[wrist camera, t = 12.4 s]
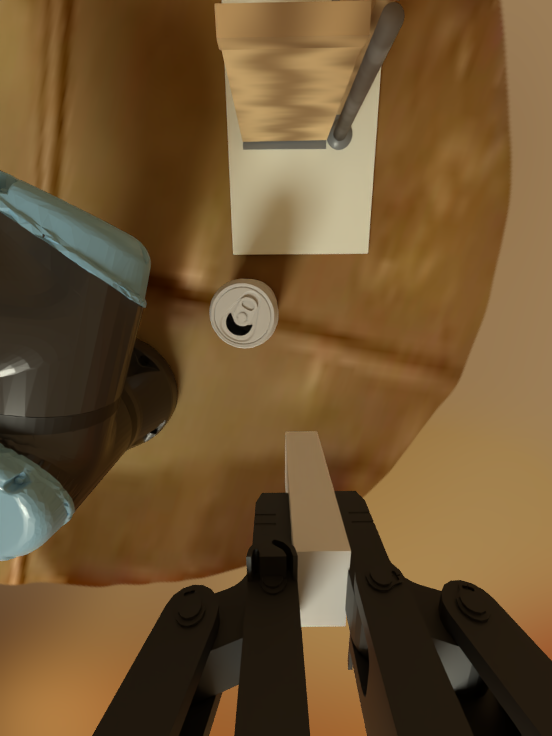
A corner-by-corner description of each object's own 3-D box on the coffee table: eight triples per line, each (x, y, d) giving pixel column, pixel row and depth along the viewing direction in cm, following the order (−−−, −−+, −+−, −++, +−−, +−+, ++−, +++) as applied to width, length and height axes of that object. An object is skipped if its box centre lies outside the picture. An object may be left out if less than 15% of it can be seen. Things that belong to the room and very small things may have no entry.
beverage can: (217, 315, 39) (194, 330, 27) (240, 269, 37) (226, 264, 26) (262, 339, 40) (257, 363, 28) (286, 294, 38) (291, 301, 27)
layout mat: (233, 254, 37) (233, 254, 36) (222, -5, 30) (221, -11, 29) (366, 253, 37) (368, 253, 36) (384, -6, 30) (387, -12, 29)
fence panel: (346, 124, 32) (405, -1, 18) (346, 141, 33) (403, 34, 18) (241, 126, 32) (214, 3, 18) (241, 144, 33) (216, 38, 18)
